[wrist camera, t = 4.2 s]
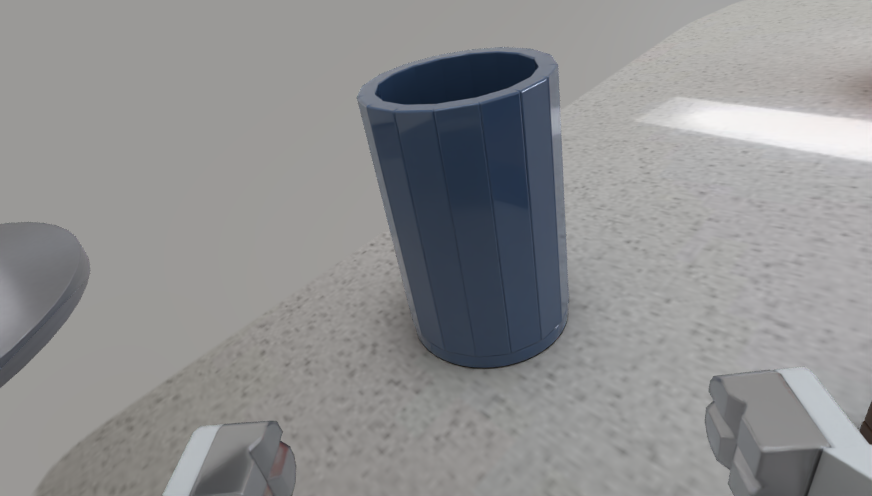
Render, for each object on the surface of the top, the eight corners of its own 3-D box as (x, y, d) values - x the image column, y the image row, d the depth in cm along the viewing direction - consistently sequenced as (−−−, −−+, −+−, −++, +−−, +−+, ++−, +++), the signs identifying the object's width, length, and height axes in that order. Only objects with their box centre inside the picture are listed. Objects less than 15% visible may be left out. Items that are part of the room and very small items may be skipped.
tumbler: (411, 376, 20) (342, 124, 15) (419, 277, 26) (370, 66, 20) (583, 358, 20) (575, 87, 14) (554, 260, 25) (540, 37, 20)
